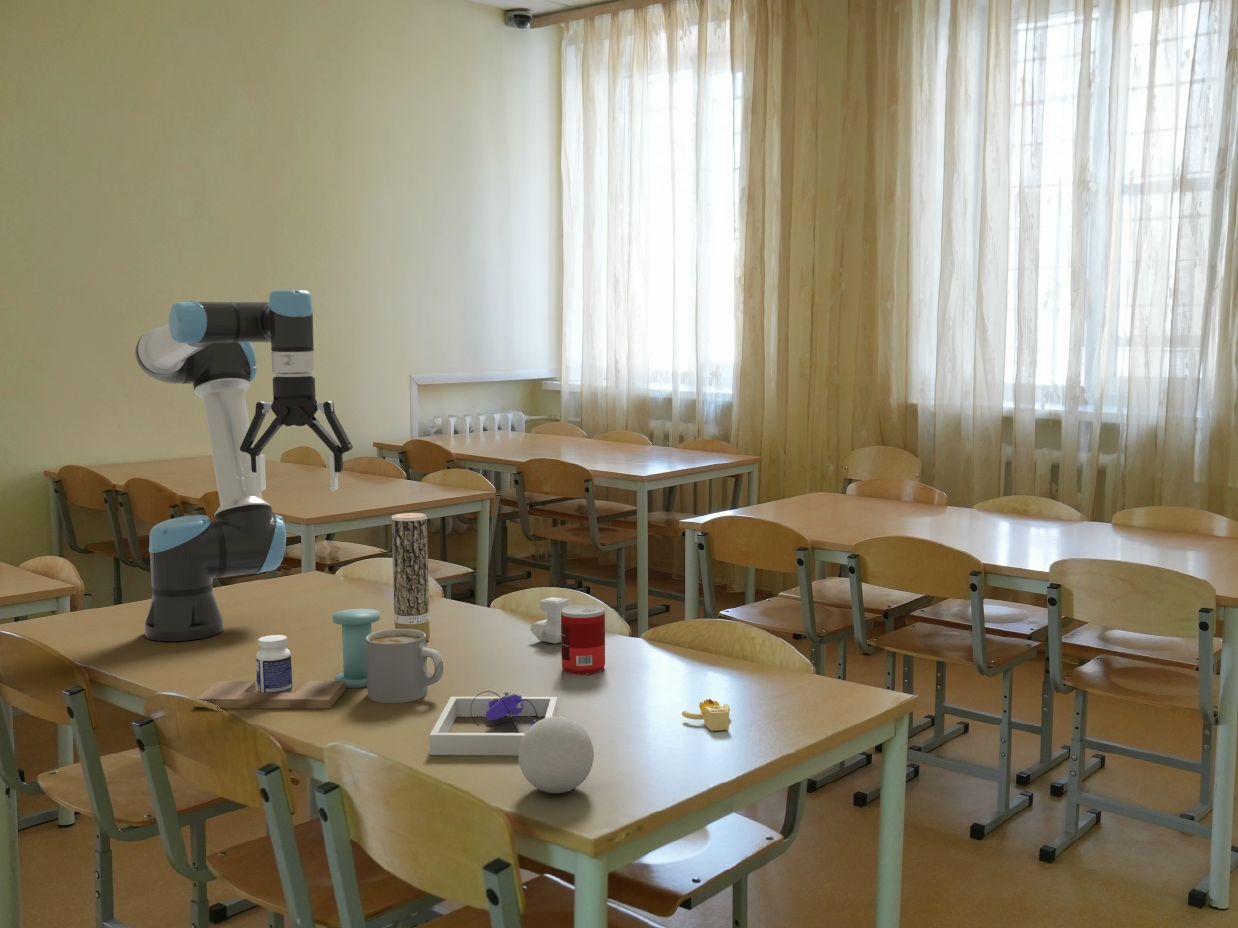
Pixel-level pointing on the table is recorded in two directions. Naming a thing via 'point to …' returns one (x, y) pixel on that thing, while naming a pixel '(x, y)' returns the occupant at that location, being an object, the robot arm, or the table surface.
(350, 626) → the bobbin post
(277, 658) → the pill bottle
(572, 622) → the canned food
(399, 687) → the coffee mug
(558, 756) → the ball
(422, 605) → the paper tube
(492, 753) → the controller tray
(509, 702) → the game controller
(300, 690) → the notch board
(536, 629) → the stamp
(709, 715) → the character toy
